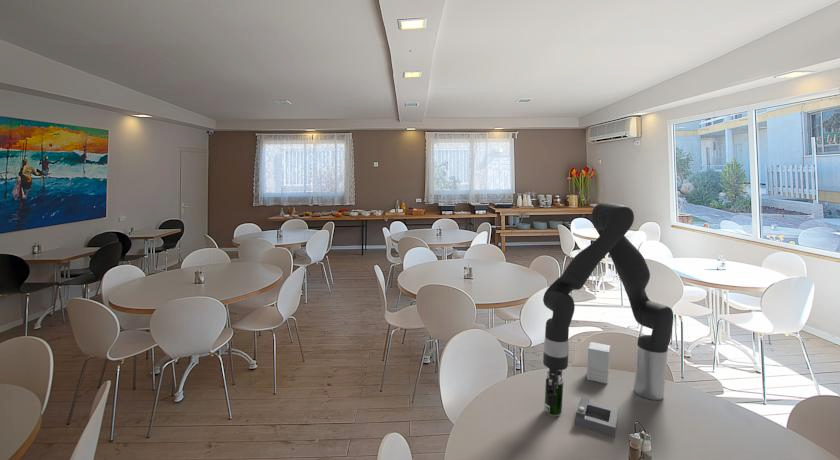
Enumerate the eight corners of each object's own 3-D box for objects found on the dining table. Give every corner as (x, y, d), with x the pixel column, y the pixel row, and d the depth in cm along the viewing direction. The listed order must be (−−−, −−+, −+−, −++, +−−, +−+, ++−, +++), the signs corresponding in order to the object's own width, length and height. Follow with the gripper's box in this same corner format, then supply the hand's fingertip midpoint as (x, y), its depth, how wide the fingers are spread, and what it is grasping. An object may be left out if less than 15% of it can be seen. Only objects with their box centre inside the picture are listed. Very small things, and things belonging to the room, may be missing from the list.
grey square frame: (580, 408, 130) (581, 393, 129) (617, 418, 124) (618, 403, 124) (575, 425, 120) (576, 410, 120) (615, 437, 115) (616, 421, 114)
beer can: (554, 419, 123) (556, 383, 122) (540, 410, 128) (542, 376, 126) (565, 413, 126) (567, 378, 125) (551, 405, 131) (553, 372, 129)
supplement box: (609, 376, 152) (611, 345, 150) (607, 384, 145) (609, 352, 144) (588, 371, 155) (590, 341, 154) (586, 379, 149) (587, 347, 148)
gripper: (563, 362, 117) (561, 415, 119) (572, 345, 129) (569, 394, 131) (538, 357, 120) (536, 408, 122) (548, 341, 133) (546, 388, 135)
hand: (553, 400), depth 127 cm, fingers closed on beer can, 5 cm apart
